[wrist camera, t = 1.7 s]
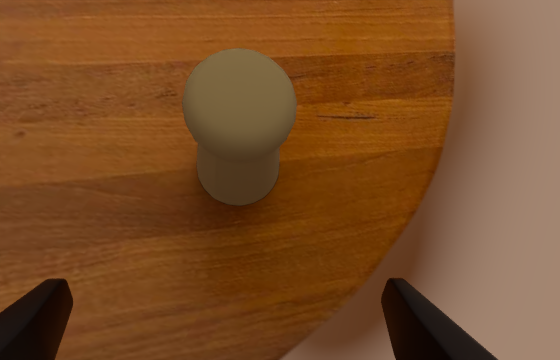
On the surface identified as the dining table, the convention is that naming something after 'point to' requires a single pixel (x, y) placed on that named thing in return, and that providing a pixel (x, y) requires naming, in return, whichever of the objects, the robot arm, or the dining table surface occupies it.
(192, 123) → the tan peg doll
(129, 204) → the dining table surface
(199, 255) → the dining table surface
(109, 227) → the dining table surface
